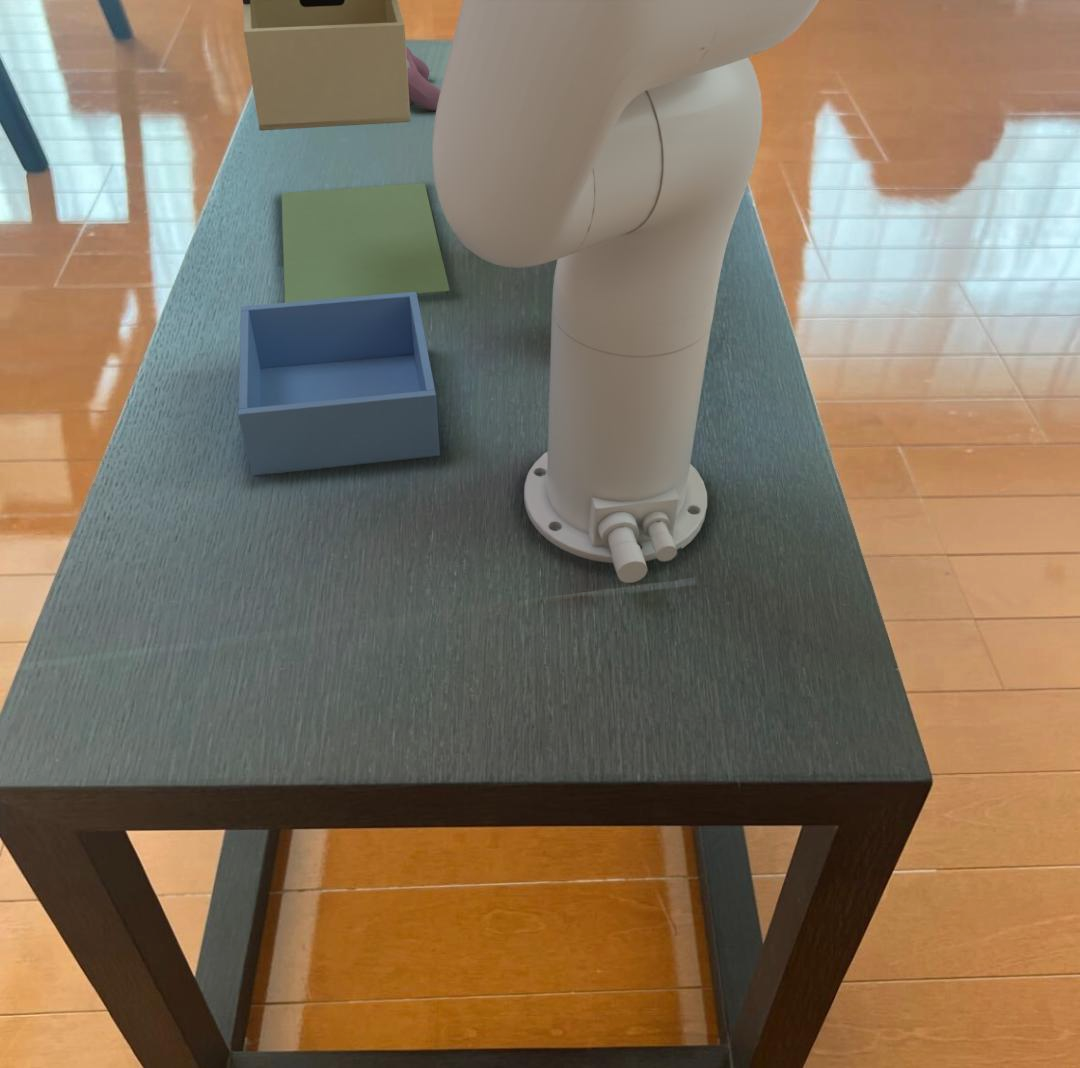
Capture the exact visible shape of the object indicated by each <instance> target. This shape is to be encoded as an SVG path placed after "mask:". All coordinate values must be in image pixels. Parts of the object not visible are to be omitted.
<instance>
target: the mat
mask: <svg viewBox="0 0 1080 1068" xmlns="http://www.w3.org/2000/svg"><path fill="white" fill-rule="evenodd" d="M434 221H435V220H434V216H433V213H432V208H431V204H430V200H429V195H428V191H427V187H426V183H425V182H419V183H404V184H403V183H402V184H392V185H391V184H390V185H378V186H376V185H375V186H361V187H349V188H347V187H346V188H333V189H332V188H331V189H321V190H320V189H317V190H305V191H303V190H302V191H290V192H281V223H282V224H281V225H282V226H281V227H282V255H283V256H282V257H283V287H284V288H283V290H284V292H283V293H284V303H288V302H299V301H311V300H323V299H335V298H347V297H359V296H371V295H383V294H394V293H406V292H416V293H417V295H418V294H429V293H430V294H431V293H440V292H441V293H442V292H450V291H451V290H450V286H449V282H448V277H447V273H446V269H445V265H444V261H443V257H442V256H443V255H442V251H441V247H440V242H439V239H438V234H437V229H436V226H435V222H434Z"/></svg>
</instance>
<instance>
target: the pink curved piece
mask: <svg viewBox="0 0 1080 1068" xmlns="http://www.w3.org/2000/svg"><path fill="white" fill-rule="evenodd" d="M406 56H407V73H408V90H409V105H413V104H415V103H416V104H417V105H418V106H420V107H423V108H425V109H428V110H430V111H435V112H436V110H437V105H438V100H439V96H440V91H441V88H439V87H437V86H436V85H434V84H433V83H431V82H430V81H428V79H429V78H430V69H429V67H428V65H427V64H426V62H424V60H422V59H421V58H419V57H417V56H416V55H414V54H413V52H412V51H411V49H410V48H409V47H407V46H406Z"/></svg>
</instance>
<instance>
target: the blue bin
mask: <svg viewBox="0 0 1080 1068" xmlns="http://www.w3.org/2000/svg"><path fill="white" fill-rule="evenodd" d="M239 320H240V323H239V325H240V326H239V365H238V367H239V368H238V370H239V371H238V412H237V415H238V420H239V424H240V428H241V432H242V436H243V441H244V446H245V450H246V454H247V458H248V461H249V462H248V463H249V467H250V471H251V472H250V473H251V475H252V476H261V475H270V474H271V475H273V474H280V473H281V474H282V473H288V472H299V471H307V470H317V469H318V470H319V469H327V468H337V467H345V466H354V465H355V466H356V465H363V464H365V465H366V464H373V463H383V462H394V461H403V460H411V459H421V458H422V459H423V458H431V457H439V456H441V455H440V454H441V453H440V452H441V451H440V437H439V422H438V406H437V403H438V402H437V393H436V387H435V383H434V377H433V372H432V367H431V361H430V357H429V351H428V346H427V340H426V335H425V330H424V325H423V320H422V315H421V310H420V304H419V297H418V294H417V293H416V292H406V293H394V294H383V295H371V296H359V297H347V298H335V299H323V300H311V301H299V302H288V303H285V302H278V303H277V302H276V303H267V304H266V303H265V304H252V305H241V306H240V318H239Z"/></svg>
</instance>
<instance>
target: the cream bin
mask: <svg viewBox="0 0 1080 1068" xmlns="http://www.w3.org/2000/svg"><path fill="white" fill-rule="evenodd" d="M242 4H243V6H242V7H243V10H242V11H243V12H242V13H243V35H244V41H245V48H246V55H247V60H248V67H249V73H250V80H251V84H252V91H253V98H254V105H255V111H256V116H257V123H258V129H259V131H262V132H263V131H277V130H278V131H279V130H293V129H309V128H310V129H311V128H313V129H314V128H326V127H327V128H328V127H345V126H346V127H348V126H363V125H380V124H381V125H383V124H396V123H398V124H399V123H411V110H410V103H409V90H408V73H407V56H406V47H407V44H406V42H407V41H406V40H407V39H406V25H405V21H404V17H403V15H402V11H401V7H400V4H399V1H398V0H345V2H344V4H343V5H340V6H319V7H303V6H302V5H301V4H300V2H299V0H242Z"/></svg>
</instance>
